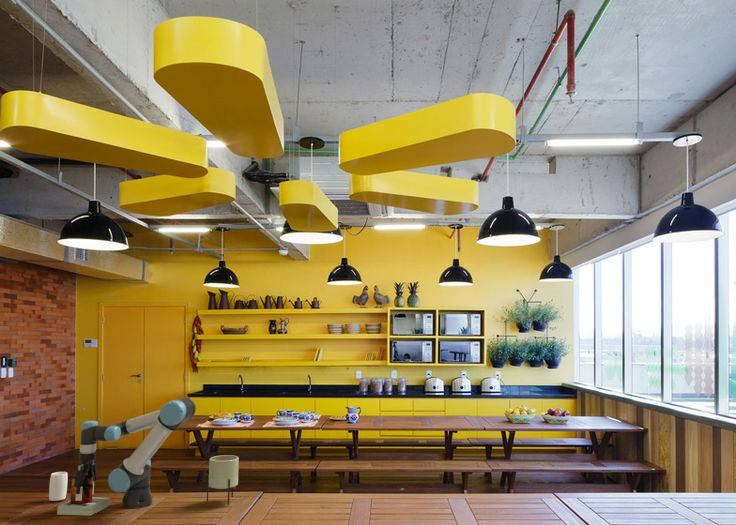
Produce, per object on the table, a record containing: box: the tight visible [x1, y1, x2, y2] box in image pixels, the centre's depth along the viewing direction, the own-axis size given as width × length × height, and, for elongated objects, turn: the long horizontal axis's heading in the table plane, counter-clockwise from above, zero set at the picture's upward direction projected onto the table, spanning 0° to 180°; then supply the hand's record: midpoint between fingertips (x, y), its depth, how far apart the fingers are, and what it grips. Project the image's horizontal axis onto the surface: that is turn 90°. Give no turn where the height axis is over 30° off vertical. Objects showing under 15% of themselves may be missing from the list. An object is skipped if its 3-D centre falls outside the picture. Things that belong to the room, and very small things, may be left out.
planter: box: [206, 454, 240, 506], centre depth 302 cm, size 15×16×23 cm
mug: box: [70, 474, 94, 505], centre depth 287 cm, size 10×14×12 cm
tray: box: [56, 496, 110, 516], centre depth 286 cm, size 18×16×4 cm
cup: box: [48, 471, 69, 502], centre depth 302 cm, size 8×8×14 cm
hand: (84, 497), depth 286 cm, fingers closed on mug, 10 cm apart
